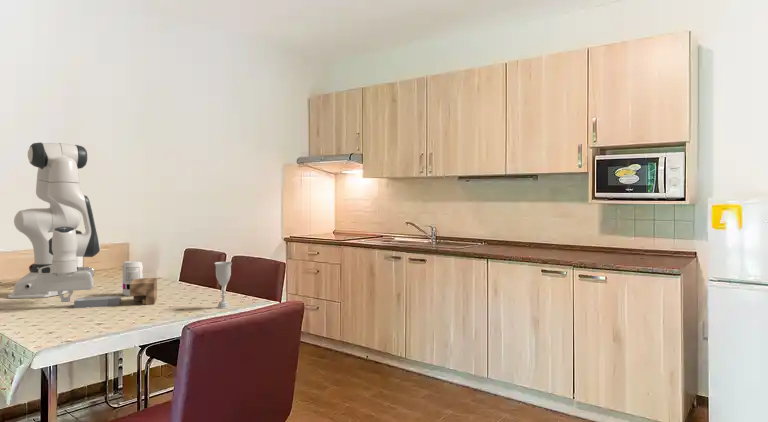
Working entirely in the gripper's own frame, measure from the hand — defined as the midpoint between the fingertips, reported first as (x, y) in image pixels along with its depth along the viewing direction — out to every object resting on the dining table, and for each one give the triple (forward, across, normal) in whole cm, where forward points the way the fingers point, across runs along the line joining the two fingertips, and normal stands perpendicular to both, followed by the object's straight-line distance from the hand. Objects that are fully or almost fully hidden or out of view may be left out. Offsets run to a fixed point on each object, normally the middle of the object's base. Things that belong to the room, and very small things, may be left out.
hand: (65, 301), depth 212 cm
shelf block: (+2, -29, -2) cm, 29 cm away
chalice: (+2, -60, +20) cm, 63 cm away
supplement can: (+2, -22, -20) cm, 30 cm away
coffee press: (+2, +12, -58) cm, 60 cm away
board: (+2, -12, 0) cm, 12 cm away
